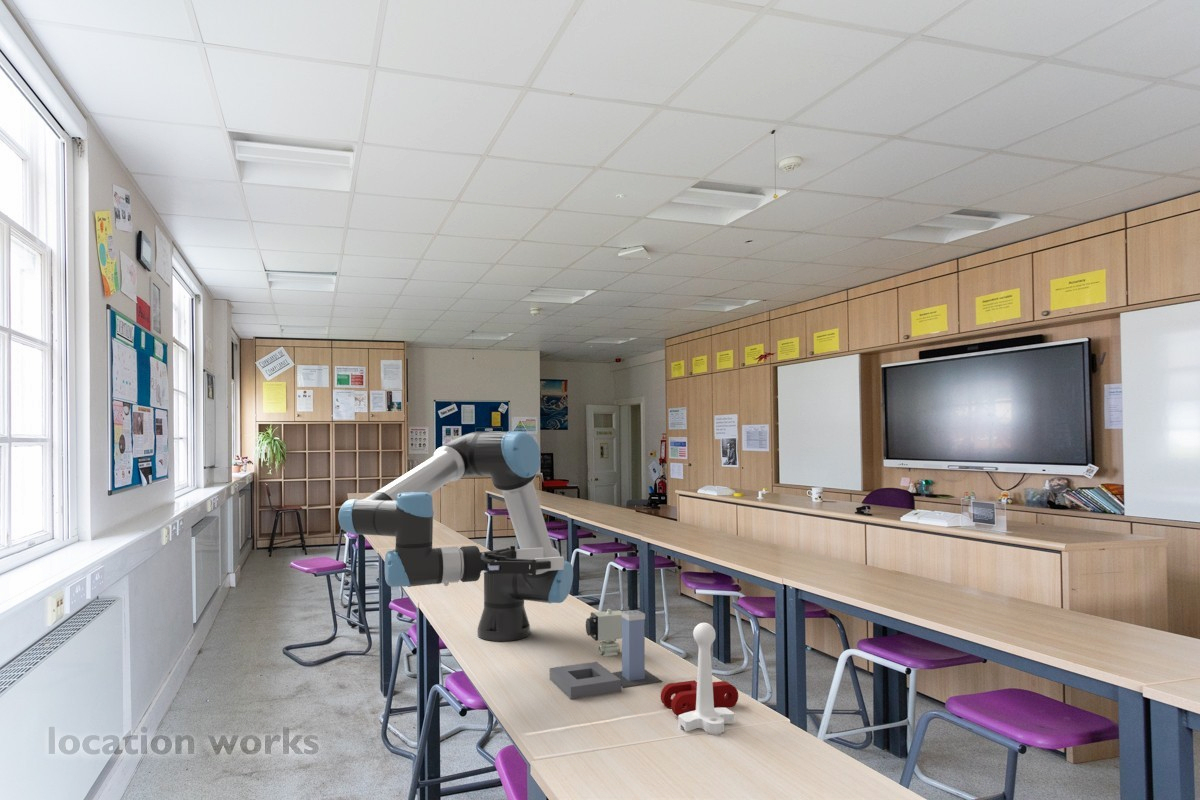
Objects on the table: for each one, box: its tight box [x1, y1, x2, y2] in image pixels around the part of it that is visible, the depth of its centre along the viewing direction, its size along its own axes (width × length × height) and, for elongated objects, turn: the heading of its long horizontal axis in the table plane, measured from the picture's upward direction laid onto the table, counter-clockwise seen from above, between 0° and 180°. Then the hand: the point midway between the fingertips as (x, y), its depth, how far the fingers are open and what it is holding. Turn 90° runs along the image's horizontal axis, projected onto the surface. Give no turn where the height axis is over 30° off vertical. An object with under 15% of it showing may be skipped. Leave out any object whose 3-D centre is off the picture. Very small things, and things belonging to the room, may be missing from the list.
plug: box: [621, 609, 646, 681], centre depth 169 cm, size 4×4×15 cm
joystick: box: [677, 622, 735, 735], centre depth 141 cm, size 11×8×20 cm
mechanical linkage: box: [660, 680, 739, 718], centre depth 151 cm, size 16×7×5 cm, turn 109°
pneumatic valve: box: [585, 608, 624, 657], centre depth 188 cm, size 6×12×12 cm, turn 107°
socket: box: [549, 661, 622, 700], centre depth 164 cm, size 14×12×3 cm
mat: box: [612, 669, 663, 689], centre depth 169 cm, size 10×10×1 cm
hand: (552, 558), depth 162 cm, fingers open, 13 cm apart
